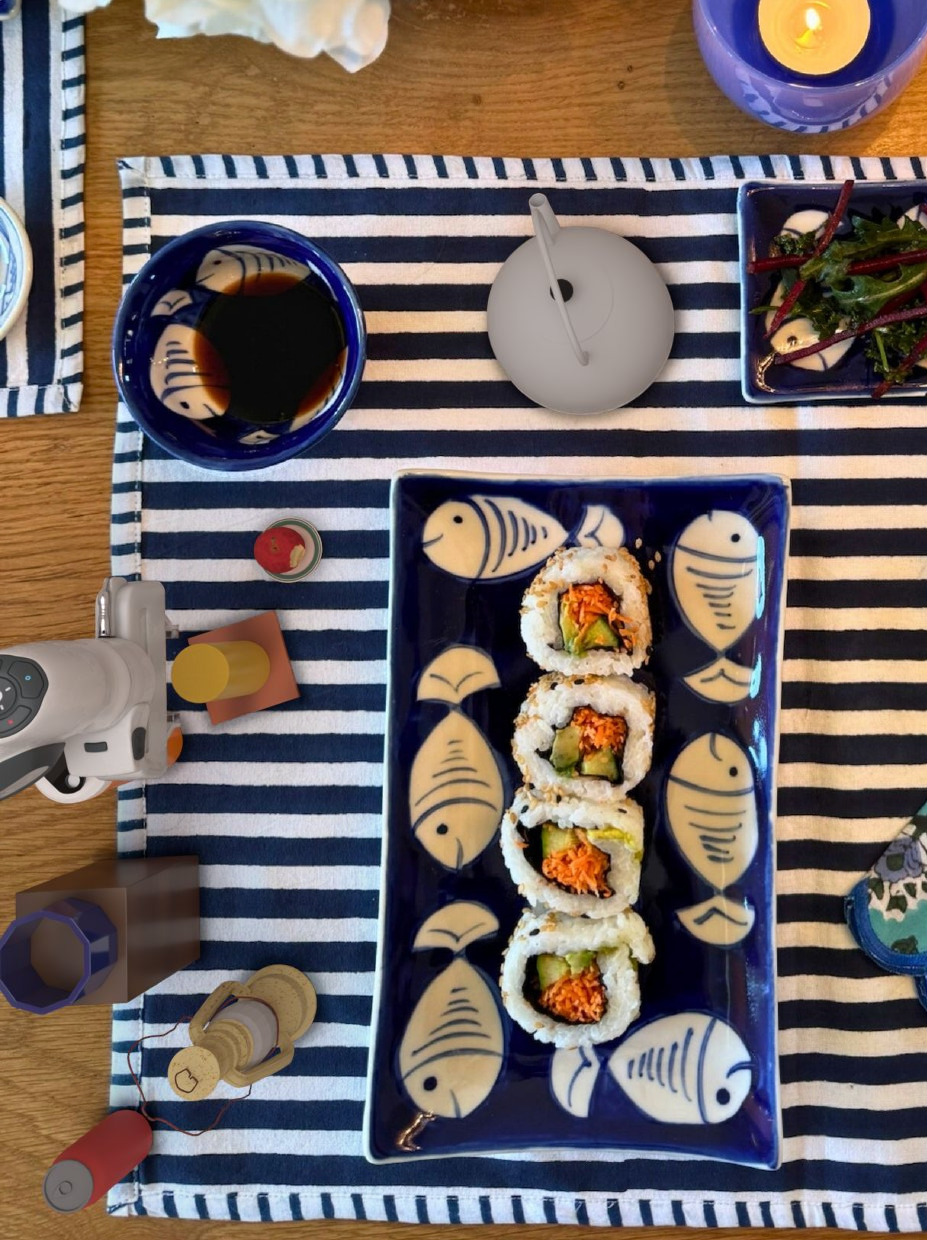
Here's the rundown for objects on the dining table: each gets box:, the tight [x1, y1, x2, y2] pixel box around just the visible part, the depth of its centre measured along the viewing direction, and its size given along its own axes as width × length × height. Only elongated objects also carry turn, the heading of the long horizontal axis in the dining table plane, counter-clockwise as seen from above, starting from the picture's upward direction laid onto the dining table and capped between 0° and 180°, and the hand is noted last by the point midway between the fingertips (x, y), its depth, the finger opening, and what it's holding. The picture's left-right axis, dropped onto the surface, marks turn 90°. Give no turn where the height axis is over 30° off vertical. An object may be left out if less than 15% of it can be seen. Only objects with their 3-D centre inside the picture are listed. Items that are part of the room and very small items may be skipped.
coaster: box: [187, 610, 301, 726], centre depth 142 cm, size 11×11×1 cm
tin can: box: [170, 641, 270, 704], centre depth 136 cm, size 7×7×11 cm
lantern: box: [126, 963, 318, 1137], centre depth 123 cm, size 12×10×30 cm
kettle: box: [486, 192, 676, 416], centre depth 134 cm, size 25×23×22 cm
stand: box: [14, 854, 201, 1010], centre depth 131 cm, size 12×12×16 cm
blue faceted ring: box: [0, 898, 117, 1016], centre depth 121 cm, size 10×10×5 cm
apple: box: [253, 516, 323, 583], centre depth 140 cm, size 8×8×6 cm
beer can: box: [41, 1109, 153, 1215], centre depth 131 cm, size 7×7×12 cm
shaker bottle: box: [34, 727, 184, 804], centre depth 131 cm, size 9×9×20 cm
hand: (173, 675), depth 125 cm, fingers open, 8 cm apart
